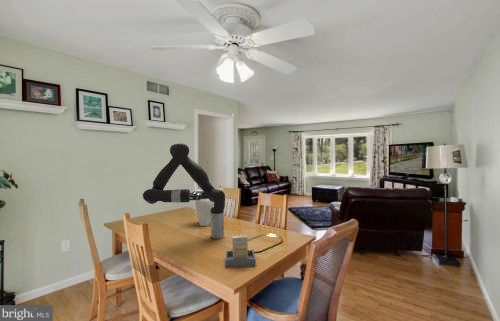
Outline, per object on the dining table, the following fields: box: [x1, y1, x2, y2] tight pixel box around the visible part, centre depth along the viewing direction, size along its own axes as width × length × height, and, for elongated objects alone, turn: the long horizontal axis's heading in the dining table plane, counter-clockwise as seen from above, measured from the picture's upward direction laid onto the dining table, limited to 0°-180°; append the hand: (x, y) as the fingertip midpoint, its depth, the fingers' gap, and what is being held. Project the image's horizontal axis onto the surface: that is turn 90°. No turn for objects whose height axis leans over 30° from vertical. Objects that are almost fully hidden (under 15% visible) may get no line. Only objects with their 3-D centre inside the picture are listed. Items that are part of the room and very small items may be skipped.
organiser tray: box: [225, 249, 256, 268], centre depth 131 cm, size 12×16×4 cm
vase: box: [194, 188, 214, 227], centre depth 197 cm, size 15×15×29 cm
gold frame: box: [248, 233, 283, 254], centre depth 156 cm, size 19×35×2 cm, turn 135°
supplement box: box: [231, 234, 249, 259], centre depth 131 cm, size 8×5×13 cm, turn 95°
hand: (209, 195), depth 137 cm, fingers open, 8 cm apart
